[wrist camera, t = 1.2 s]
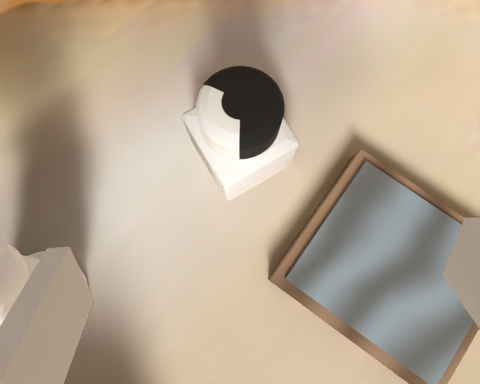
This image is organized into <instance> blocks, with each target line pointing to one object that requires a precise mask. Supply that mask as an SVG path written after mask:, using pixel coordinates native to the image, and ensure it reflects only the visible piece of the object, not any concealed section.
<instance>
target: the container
mask: <svg viewBox="0 0 480 384" xmlns="http://www.w3.org/2000/svg"><path fill="white" fill-rule="evenodd" d="M283 116H284V99H283V96H282V93H281V91H280V89H279V87H278V85H277V84H276V83H275V81H274V80H273V79H272V78H271V77H269V76H268V75H267V74H265V73H264V72H262V71H260V70H258V69H255V68H251V67H246V66H235V67H229V68H225V69H223V70H220V71H219V72H217V73H215V74H214V75H212V76H211V77H210V78H209V79H208V80H207V81H206V82H205V83H204V85H203V86H202V88H201V89H200V91H199V94H198V97H197V101H196V107H194V108H192V109H190V110H189V111H187V112H185V113H184V114H183V115H182V119H183V122H184V124H185V126H186V129H187V131H188V133H189V136H190V138H191V140H192V143H193V145H194V146H195V148H196V150H197V151H198V153H199V155H200V157H201V158H202V160H203V162H204V163H205V165H206V167H207V168H208V170H209V172H210V173H211V175H212V177H213V178H214V180H215V182H216V183H217V185H218V187H219V188H220V190H221V192H222V193H223V195H224V197H225V198H226V199H227V200H232V199H233V198H235V197H237V196H238V195H240V194H242V193H243V192H245V191H247V190H249V189H250V188H252V187H254V186H255V185H257V184H259V183H261V182H262V181H264V180H266V179H267V178H269V177H271V176H272V175H274V174H276V173H278V172H279V171H281V170H283V169H284V168H286V167H287V166H288V165H289V163H290V161H291V160H292V158H293V156H294V154H295V152H296V150H297V148H298V146H299V140H298V139H297V137H296V136H295V134H294V133H293V131H292V129H291V128H290V126H289V125H288V123H287V122H286V120H285V119H284V117H283Z"/></svg>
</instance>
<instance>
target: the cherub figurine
mask: <svg viewBox="0 0 480 384" xmlns="http://www.w3.org/2000/svg"><path fill="white" fill-rule="evenodd" d="M44 252H45V251H42V252H36V253H33V254H30V255H28V256H24V255H21V254H20V253H19V252H18V251H17V249H15V248H14V247H13V246H11V245H9V244H8V243H7V242H5V241H4V240H2V239H1V238H0V326H1V324H2V322H3V321H4V319H5V317H6V316H7V314H8V312H9V311H10V309H11V307H12V306H13V304H14V302H15V301H16V299H17V297H18V296H19V294H20V292H21V291H22V289H23V287H24V286H25V284H26V282H27V281H28V279H29V277H30V275H31V274H32V272H33V270H34V269H35V267H36V265H37V264H38V262H39V260H40V259H41V257H42V255H43V254H44ZM80 270H81V269H80ZM81 272H82V271H81ZM82 274H83V272H82ZM83 277H84V279H85V281H86V283H88V282H87V279H86V276H85V275H84V274H83Z"/></svg>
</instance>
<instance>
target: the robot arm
mask: <svg viewBox="0 0 480 384" xmlns="http://www.w3.org/2000/svg"><path fill="white" fill-rule="evenodd" d="M442 276H443V277H444V278H445V280H446V281H447V283H448V284H449V286H450V287H451V289H452V290H453V291H454V293H455V294H456V296H457V297H458V299H459V300H460V302H461V303H462V304H463V306H464V307H465V309H466V310H467V312H468V313H469V315H470V316H471V317H472V319H473V320H474V322H475V323H476V325H477V326H478V328H479V329H480V217H473V218H465V219H464V222H463V224H462V227H461V229H460V232H459V234H458V237H457V239H456V242H455V244H454V247H453V249H452V252H451V254H450V257H449V260H448V262H447V265H446V267H445V270H444V272H443V275H442ZM93 303H94V299H93V297H92V294H91V292H90V290H89V288H88V285H87V283H86V281H85V279H84V277H83V274H82V272H81V270H80V268H79V266H78V263H77V261H76V259H75V257H74V254H73V252H72V250H71V248H70V247H57V248H47V249H46V250H45V252H44V254H43V255H42V257H41V259H40V260H39V262H38V264H37V265H36V267H35V269H34V270H33V272H32V274H31V275H30V277H29V279H28V281H27V282H26V284H25V286H24V287H23V289H22V291H21V292H20V294H19V296H18V297H17V299H16V301H15V302H14V304H13V306H12V307H11V309H10V311H9V312H8V314H7V316H6V317H5V319H4V321H3V322H2V324H1V326H0V384H64V382H65V379H66V376H67V374H68V371H69V368H70V365H71V363H72V360H73V357H74V355H75V352H76V349H77V346H78V344H79V341H80V338H81V335H82V333H83V330H84V327H85V325H86V322H87V319H88V316H89V314H90V311H91V308H92V306H93Z"/></svg>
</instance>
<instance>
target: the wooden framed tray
mask: <svg viewBox="0 0 480 384" xmlns="http://www.w3.org/2000/svg"><path fill="white" fill-rule="evenodd" d="M464 219H465V217H463V216H462V215H460V214H459V213H457V212H456V211H454V210H453V209H451V208H450V207H448V206H447V205H445V204H444V203H442V202H441V201H439V200H438V199H436V198H435V197H433V196H432V195H430V194H429V193H427V192H426V191H424V190H423V189H421V188H420V187H418V186H417V185H415V184H414V183H412V182H411V181H409V180H408V179H406V178H405V177H403V176H402V175H400V174H399V173H397V172H396V171H394V170H393V169H391V168H390V167H388V166H387V165H385V164H384V163H382V162H381V161H379V160H378V159H376V158H375V157H373V156H372V155H370V154H369V153H367V152H366V151H364V150H363V149H360V150H359V151H358V152H357V153H356V154H355V155H354V156H353V157H352V158H351V160H350V161H349V163H348V164H347V166H346V167H345V169H344V170H343V172H342V173H341V174H340V176H339V177H338V179H337V180H336V182H335V183H334V185H333V186H332V187H331V189H330V190H329V192H328V193H327V195H326V196H325V198H324V199H323V200H322V202H321V203H320V205H319V206H318V208H317V209H316V211H315V212H314V213H313V215H312V216H311V218H310V219H309V221H308V222H307V224H306V225H305V226H304V228H303V229H302V231H301V232H300V234H299V235H298V237H297V238H296V239H295V241H294V242H293V244H292V245H291V247H290V248H289V250H288V251H287V252H286V254H285V255H284V257H283V258H282V260H281V261H280V263H279V264H278V265H277V267H276V268H275V270H274V271H273V273H272V274H271V276H270V277H269V278H268V279H269V280H270V281H271V282H272V283H274V284H275V285H276V286H278V287H279V288H280V289H282V290H283V291H285V292H286V293H287V294H289V295H290V296H291V297H293V298H294V299H295V300H297V301H298V302H299V303H301V304H302V305H303V306H305V307H306V308H308V309H309V310H310V311H312V312H313V313H314V314H316V315H317V316H318V317H320V318H321V319H322V320H324V321H325V322H326V323H328V324H329V325H331V326H332V327H333V328H335V329H336V330H337V331H339V332H340V333H341V334H343V335H344V336H345V337H347V338H348V339H349V340H351V341H352V342H354V343H355V344H356V345H358V346H359V347H360V348H362V349H363V350H364V351H366V352H367V353H368V354H370V355H371V356H372V357H374V358H375V359H377V360H378V361H379V362H381V363H382V364H383V365H385V366H386V367H387V368H389V369H390V370H391V371H393V372H394V373H395V374H397V375H398V376H400V377H401V378H402V379H404V380H405V381H406V382H408V383H409V384H448V382H449V380H450V378H451V377H452V375H453V373H454V372H455V370H456V368H457V366H458V365H459V363H460V361H461V359H462V358H463V356H464V354H465V352H466V351H467V349H468V347H469V345H470V344H471V342H472V340H473V338H474V337H475V335H476V333H477V331H478V330H479V328H478V326H477V325H476V323H475V322H474V320H473V319H472V317H471V316H470V315H469V313H468V312H467V310H466V309H465V307H464V306H463V304H462V303H461V302H460V300H459V299H458V297H457V296H456V294H455V293H454V291H453V290H452V289H451V287H450V286H449V284H448V283H447V281H446V280H445V278H444V277H443V276H442V275H443V272H444V270H445V267H446V265H447V262H448V260H449V257H450V254H451V252H452V249H453V247H454V244H455V242H456V239H457V237H458V234H459V232H460V229H461V227H462V224H463V222H464Z"/></svg>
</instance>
